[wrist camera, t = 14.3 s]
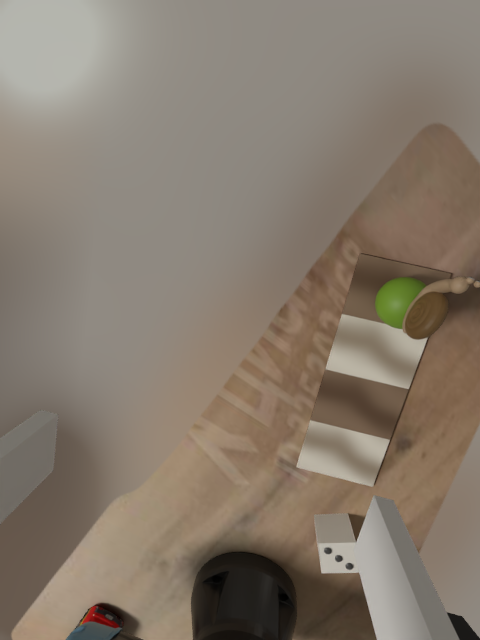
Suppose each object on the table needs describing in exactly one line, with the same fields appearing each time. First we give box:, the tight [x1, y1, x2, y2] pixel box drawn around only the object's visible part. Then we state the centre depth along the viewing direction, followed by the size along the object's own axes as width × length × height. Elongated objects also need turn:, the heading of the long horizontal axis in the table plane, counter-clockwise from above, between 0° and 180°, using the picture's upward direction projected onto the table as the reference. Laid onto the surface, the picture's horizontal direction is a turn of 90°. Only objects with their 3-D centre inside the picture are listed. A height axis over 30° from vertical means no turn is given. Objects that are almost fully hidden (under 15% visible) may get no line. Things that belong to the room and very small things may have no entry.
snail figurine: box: [375, 277, 480, 340], centre depth 30 cm, size 5×6×12 cm
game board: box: [297, 254, 451, 487], centre depth 39 cm, size 28×10×1 cm, turn 168°
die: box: [314, 513, 359, 573], centre depth 42 cm, size 4×4×5 cm
